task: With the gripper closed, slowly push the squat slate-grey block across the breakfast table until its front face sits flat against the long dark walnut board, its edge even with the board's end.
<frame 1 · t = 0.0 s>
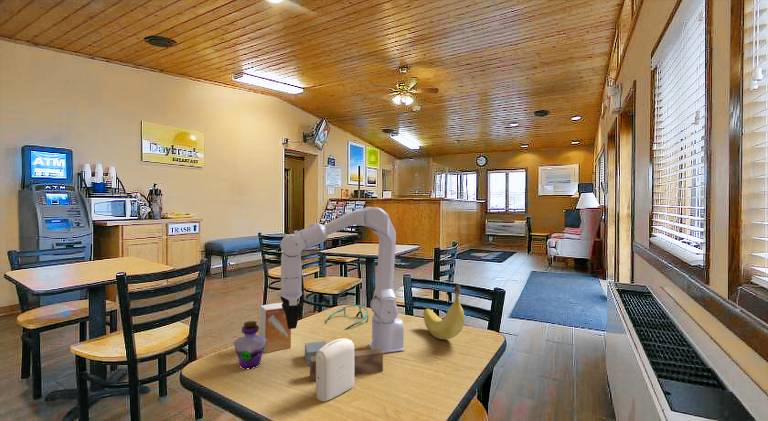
hand: (291, 323, 108), 10 cm above the table, tool pointing down, fingers open, 7 cm apart
potion bottle: (250, 365, 104), on the table
small box: (275, 348, 117), on the table
safety glasses: (348, 323, 142), on the table
slate block: (316, 360, 108), on the table
banana: (441, 338, 126), on the table
walnut board: (346, 373, 100), on the table
photo printer: (335, 393, 90), on the table
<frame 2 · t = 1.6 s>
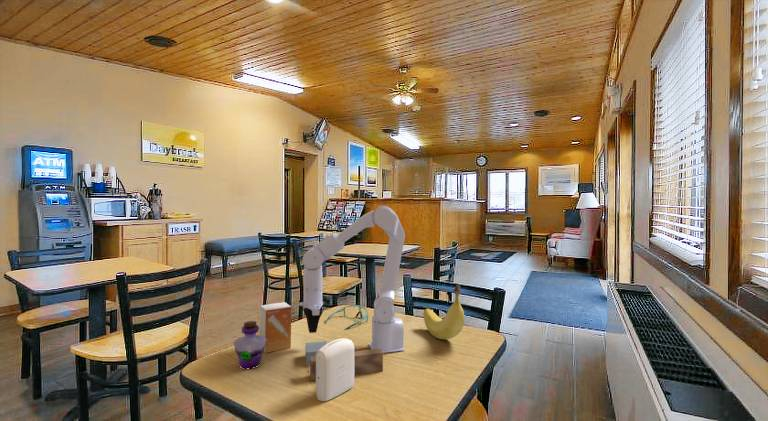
hand: (312, 331, 116), 5 cm above the table, tool pointing down, fingers closed
nothing on the table moved.
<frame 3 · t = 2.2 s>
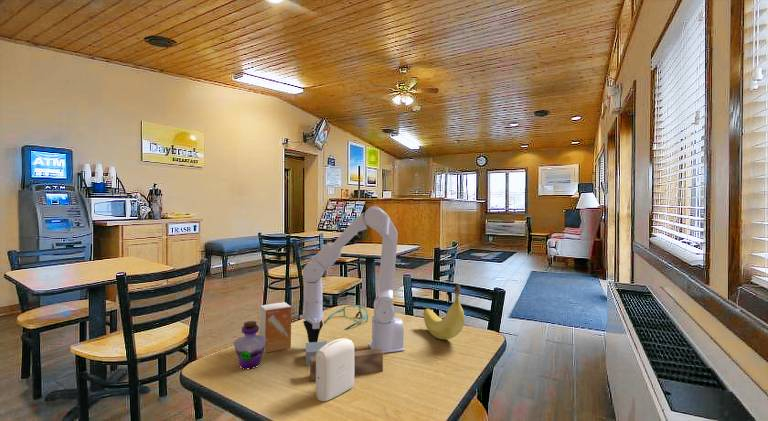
hand: (312, 344, 116), 1 cm above the table, tool pointing down, fingers closed
nothing on the table moved.
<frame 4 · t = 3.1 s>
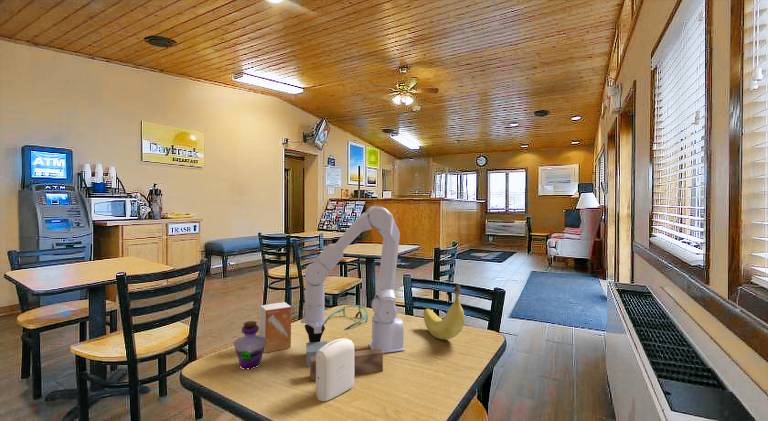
hand: (314, 349, 112), 1 cm above the table, tool pointing down, fingers closed
slate block: (316, 360, 108), on the table, touching gripper
everything else where it was.
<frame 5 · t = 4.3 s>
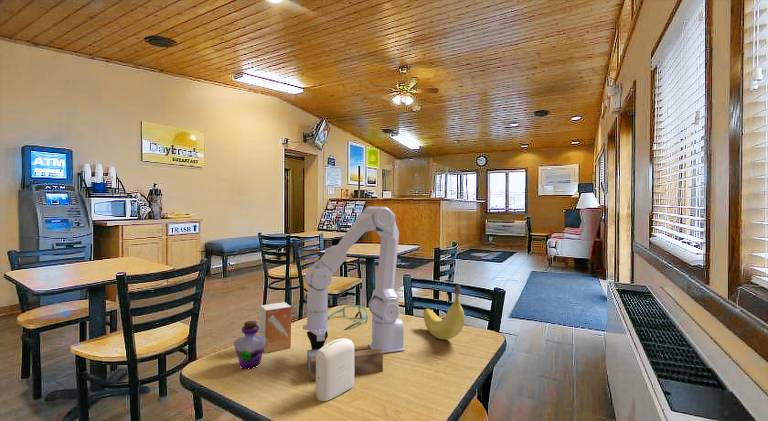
hand: (317, 357, 107), 1 cm above the table, tool pointing down, fingers closed
slate block: (320, 368, 102), on the table, touching gripper, walnut board
everything else where it was.
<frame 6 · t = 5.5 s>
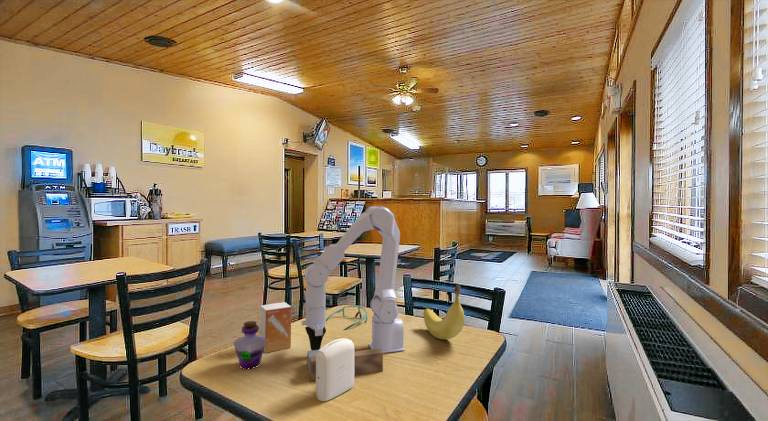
hand: (315, 351, 110), 1 cm above the table, tool pointing down, fingers closed
slate block: (320, 369, 102), on the table
everything else where it was.
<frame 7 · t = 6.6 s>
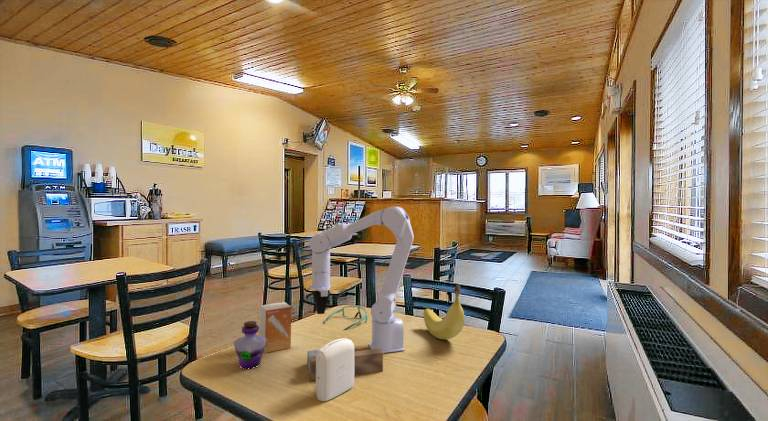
hand: (320, 313, 121), 9 cm above the table, tool pointing down, fingers closed
nothing on the table moved.
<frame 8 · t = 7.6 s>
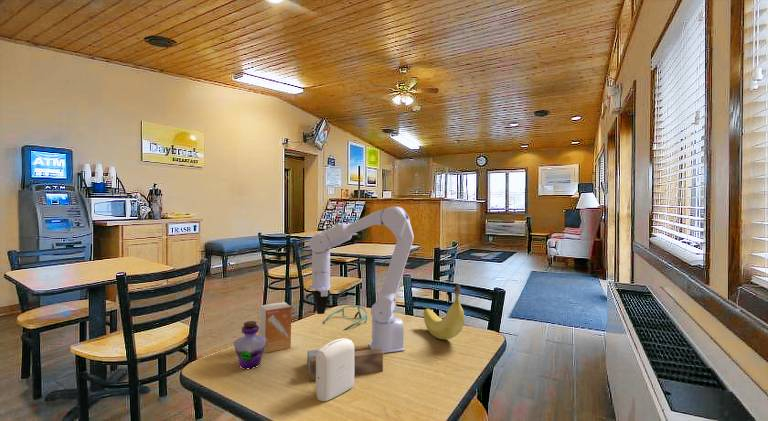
hand: (320, 313, 121), 9 cm above the table, tool pointing down, fingers closed
nothing on the table moved.
at the end: slate block 0.2 cm from the target spot on the table beside the walnut board, on the table; slate block tilted 0° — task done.
